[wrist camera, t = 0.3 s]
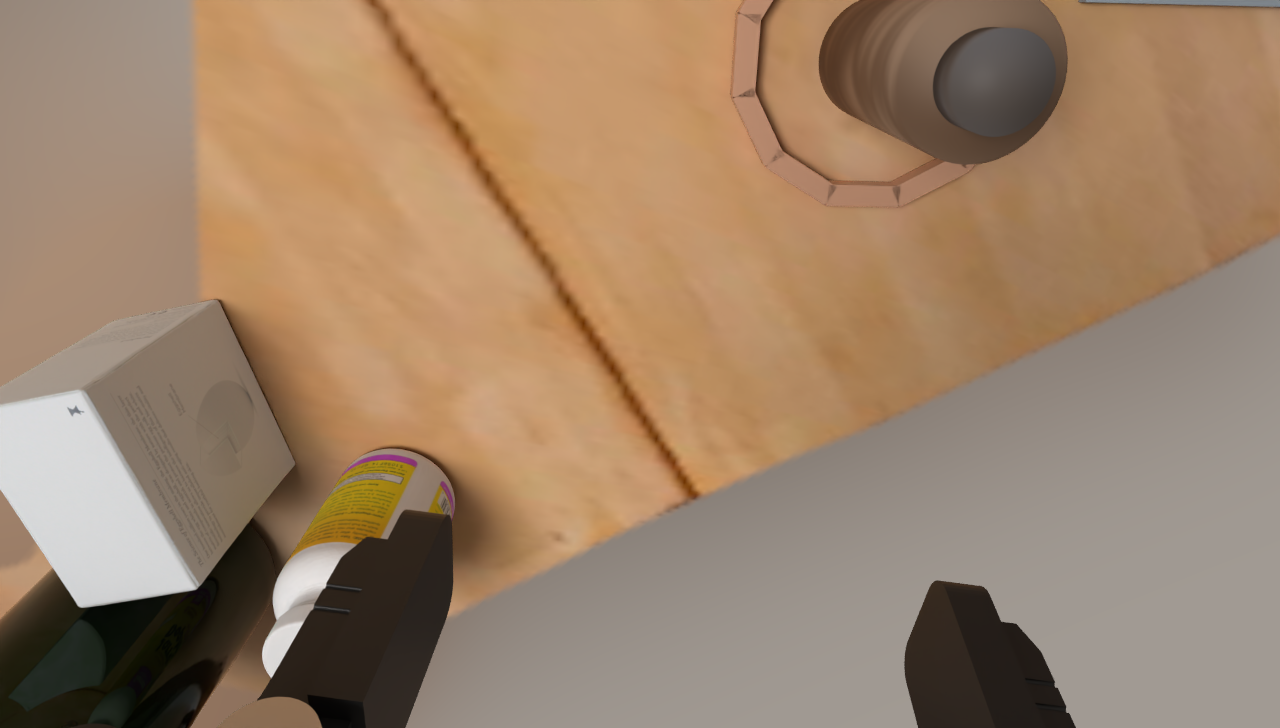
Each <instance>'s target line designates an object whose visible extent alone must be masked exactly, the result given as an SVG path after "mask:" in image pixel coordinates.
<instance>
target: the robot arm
mask: <svg viewBox="0 0 1280 728" xmlns="http://www.w3.org/2000/svg"><path fill="white" fill-rule="evenodd" d="M452 590H453V549H452V520H451V516H450V515H446V514H439V513H431V512H423V511H416V510H408V509H406V510H404V511H403V512H402V513H401V514H400V516H399V518H398V520H397V522H396V524H395V526H394V528H393V530H392V532H391V533H390V535H389V537H388V539H382V538H374V537H366V538H364V539H363V540H362V541H361V542H359V543H358V544H357V545H356V546H355V547H353V548H352V549H351V550H350V551H348V552H347V553H346V554H345V555H344V556H342V557H341V559H340V560H339V562H338V564H337V565H336V567H335V569H334V571H333V572H332V574H331V576H330V578H329V579H328V581H327V583H326V587H325V589H323V590H322V591H321V593H320V595H319V597H318V598H317V600H316V602H315V604H314V608H313V610H311V611H310V612H309V614H308V616H307V617H306V619H305V621H304V623H303V624H302V626H301V628H300V630H299V631H298V633H297V635H296V637H295V638H294V640H293V642H292V643H291V645H290V647H289V649H288V650H287V652H286V654H285V656H284V657H283V659H282V661H281V663H280V664H279V666H278V668H277V669H276V671H275V673H274V675H273V676H272V678H271V680H270V682H269V683H268V685H267V687H266V689H265V690H264V691H263V693H262V694H261V696H260V697H259V698H258V700H257V701H255V702H252V703H250V704H248V705H246V706H243V707H242V708H240V709H238V710H237V711H235V712H233V713H232V714H231V715H230V716H228V717H227V718H226V719H225V720H224V721H223V722H222V723H221V724H220V725H219V726H218V727H217V728H405V727H406V725H407V722H408V719H409V717H410V714H411V711H412V709H413V706H414V703H415V701H416V698H417V695H418V692H419V690H420V687H421V684H422V682H423V679H424V677H425V674H426V671H427V669H428V666H429V663H430V660H431V658H432V655H433V653H434V650H435V647H436V645H437V642H438V639H439V637H440V634H441V631H442V629H443V626H444V623H445V620H446V618H447V614H448V611H449V607H450V602H451V597H452ZM905 678H906V683H907V687H908V690H909V694H910V698H911V702H912V705H913V710H914V713H915V717H916V721H917V725H918V728H1076V727H1075V725H1074V723H1073V720H1072V718H1071V716H1070V714H1069V713H1066V705H1065V703H1064V701H1063V699H1062V696H1061V694H1060V692H1059V690H1058V688H1055V686H1054V683H1055V681H1054V679H1053V677H1052V675H1051V672H1050V671H1049V668H1048V666H1047V664H1046V662H1045V659H1044V657H1043V655H1042V653H1041V651H1040V650H1039V649H1038V648H1037V647H1036V646H1035V644H1034V643H1033V642H1032V641H1031V640H1030V639H1029V638H1028V637H1027V635H1026V634H1025V633H1024V632H1023V631H1022V630H1021V629H1020V628H1019V627H1018V625H1017V624H1014V623H1005V622H1001V620H1000V618H999V616H998V613H997V611H996V609H995V606H994V604H993V601H992V600H991V597H990V595H989V593H988V591H987V590H986V589H985V588H984V587H982V586H975V585H968V584H960V583H952V582H944V581H934V582H933V583H932V584H931V586H930V588H929V590H928V593H927V595H926V598H925V600H924V602H923V605H922V608H921V610H920V612H919V615H918V617H917V620H916V622H915V625H914V627H913V630H912V632H911V635H910V637H909V640H908V642H907V646H906V651H905ZM70 728H116V727H113V726H110V725H105V724H84V725H78V726H74V727H70Z"/></svg>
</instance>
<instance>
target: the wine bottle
mask: <svg viewBox="0 0 1280 728" xmlns="http://www.w3.org/2000/svg"><path fill="white" fill-rule="evenodd" d="M275 584H276V577H275V568H274V562H273V559H272V557H271V554H270V551H269V549H268V547H267V546H266V544H265V542H264V541H263V539H262V538H261V536H260V535H259V534H258V533H257V532H256V531H255V530H254V528H253V527H252V526H251V525H250V524H247V525H246V526H245V528H244V529H243V530H242V532H241V533H240V534H239V535H238V537H237V538H236V539H235V540H234V542H233V543H232V544H231V546H230V547H229V548H228V549H227V551H226V552H225V553H224V555H223V556H222V557H221V559H220V560H219V561H218V563H217V564H216V565H215V567H214V568H213V569H212V571H211V572H210V574H209V575H208V576H207V577H206V579H205V580H204V582H203V583H202V584H201V585H200V586H199V587H198V589H196V590H192V591H186V592H180V593H174V594H168V595H162V596H156V597H150V598H144V599H137V600H131V601H125V602H119V603H113V604H107V605H100V606H93V607H85V608H81V607H79V606H78V605H77V604H76V602H75V600H74V599H73V597H72V596H71V594H70V593H69V591H68V590H67V588H66V587H65V585H64V584H63V582H62V581H61V579H60V578H59V576H58V575H57V573H56V572H55V570H54V569H53V568H52V569H51V570H50V571H49V572H48V573H47V574H46V575H45V576H43V577H42V578H41V579H40V580H39V581H38V582H37V583H36V584H35V585H34V586H33V587H32V588H31V589H30V590H29V591H28V592H27V593H26V594H25V595H24V596H23V597H22V598H21V599H20V600H19V601H18V602H17V603H16V604H15V605H14V606H13V607H12V608H11V609H10V610H9V611H8V612H7V613H6V614H5V615H4V616H3V617H2V618H1V619H0V728H70V727H74V726H78V725H84V724H105V725H110V726H113V727H116V728H190V727H191V726H192V724H193V723H194V721H195V720H196V718H197V717H198V715H199V713H200V712H201V710H202V709H203V708H204V706H205V705H206V703H207V702H208V700H209V699H210V697H211V696H212V694H213V693H214V691H215V690H216V688H217V687H218V685H219V684H220V682H221V681H222V679H223V678H224V676H225V675H226V673H227V671H228V670H229V668H230V667H231V665H232V664H233V662H234V661H235V659H236V658H237V656H238V655H239V653H240V652H241V650H242V648H243V647H244V645H245V644H246V642H247V641H248V639H249V638H250V636H251V635H252V633H253V631H254V630H255V628H256V627H257V625H258V624H259V622H260V620H261V619H262V617H263V615H264V613H265V612H266V610H267V608H268V606H269V604H270V602H271V600H272V597H273V592H274V587H275Z"/></svg>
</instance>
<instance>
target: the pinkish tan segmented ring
mask: <svg viewBox="0 0 1280 728" xmlns="http://www.w3.org/2000/svg"><path fill="white" fill-rule="evenodd" d="M772 1H773V0H743V1H742V3H741V5H740V6H739V8H738V10H737V11H736V12H737V13H739V14H736V16H735V31H734V46H733V61H732V76H731V90H730V95H731V99H732V101H733V103H734V105H735V107H736V109H737V111H738V113H739V115H740V118H741V120H742V122H743V124H744V126H745V128H746V130H747V132H748V134H749V137H750V139H751V141H752V143H753V145H754V147H755V149H756V151H757V153H758V156H759V158H760V160H761V162H762V163H763V165H764V166H765V167H766V168H767V169H769V170H770V171H772V172H774V173H775V174H777V175H778V176H780V177H781V178H783V179H784V180H786V181H788V182H789V183H791V184H792V185H794V186H795V187H797V188H798V189H800V190H802V191H803V192H805V193H806V194H808V195H809V196H811V197H812V198H814V199H816V200H817V201H819V202H820V203H822V204H823V205H826V206H853V207H896V208H898V206H899V207H901V206H903V205H905V204H907V203H909V202H911V201H913V200H915V199H917V198H919V197H921V196H923V195H925V194H927V193H929V192H931V191H932V190H934V189H936V188H938V187H940V186H942V185H944V184H946V183H948V182H950V181H952V180H954V179H956V178H958V177H960V176H962V175H964V174H966V173H968V170H969V171H970V170H971V169H972V168H973V167H974V165H975V164H969V165H964V164H954V163H950V162H946V161H943V160H940V159H938V158H936V159H934V160H932V161H930V162H928V163H926V164H924V165H922V166H920V167H919V168H917V169H915V170H913V171H911V172H909V173H907V174H905V175H903V176H901V177H899V178H897V179H895V180H893V181H891V182H868V181H829V180H827V179H826V178H824V177H823V176H821V175H820V174H818V173H817V172H815V171H814V170H812V169H811V168H809V167H808V166H806V165H804V164H803V163H801V162H800V161H798V160H797V159H795V158H794V157H792V156H791V155H789V154H788V153H786V152H785V151H783V150H782V149H781V147H780V145H779V143H778V141H777V138H776V136H775V134H774V132H773V130H772V128H771V125H770V123H769V121H768V119H767V117H766V115H765V112H764V110H763V108H762V106H761V104H760V102H759V99H758V97H757V95H756V93H755V88H756V75H757V63H758V50H759V37H760V25H761V19H762V18H763V16H764V14H765V13H766V11H767V9H768V8H769V6H770V5H771V3H772Z"/></svg>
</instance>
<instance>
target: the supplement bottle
mask: <svg viewBox="0 0 1280 728" xmlns="http://www.w3.org/2000/svg"><path fill="white" fill-rule="evenodd" d="M406 509H408V510H416V511H423V512H431V513H439V514H446V515H450V516H451V520H452V519H453V515H454V510H455V497H454V492H453V488H452V486H451V483H450V481H449V480H448V478H447V477H446V475H445V474H444V473H443V471H442V470H441V469H440V468H439V467H438V466H437V465H435V464H434V463H433V462H431V461H430V460H428V459H427V458H425V457H423V456H421V455H419V454H417V453H414V452H411V451H407V450H403V449H380V450H376V451H372V452H369V453H367V454H364V455H363V456H361V457H359V458H358V459H356V460H355V461H354V462H353V463H352V464H351V465H350V466H349V467H348V468H347V469H346V470H345V471H344V473H343V474H342V476H341V477H340V479H339V481H338V482H337V484H336V485H335V487H334V488H333V490H332V491H331V493H330V495H329V496H328V498H327V499H326V501H325V502H324V504H323V506H322V507H321V509H320V510H319V512H318V514H317V515H316V517H315V518H314V520H313V521H312V523H311V525H310V526H309V528H308V529H307V531H306V533H305V534H304V536H303V537H302V539H301V541H300V542H299V544H298V545H297V547H296V548H295V550H294V552H293V553H292V555H291V556H290V558H289V559H288V561H287V563H286V564H285V566H284V567H283V569H282V571H281V573H280V575H279V577H278V579H277V581H276V584H275V587H274V592H273V608H274V613H275V617H276V619H277V621H276V623H275V625H274V626H273V628H272V630H271V632H270V633H269V635H268V637H267V639H266V641H265V643H264V646H263V651H262V660H263V664H264V667H265V669H266V671H267V673H268V674H269V676H270V677H271V678H272V676H273V675H274V673H275V671H276V669H277V668H278V666H279V664H280V663H281V661H282V659H283V657H284V656H285V654H286V652H287V650H288V649H289V647H290V645H291V643H292V642H293V640H294V638H295V637H296V635H297V633H298V631H299V630H300V628H301V626H302V624H303V623H304V621H305V619H306V617H307V616H308V614H309V612H310V611H311V610H313V608H314V604H315V602H316V600H317V598H318V597H319V595H320V593H321V591H322V590H323V589H325V587H326V583H327V581H328V579H329V578H330V576H331V574H332V572H333V571H334V569H335V567H336V565H337V564H338V562H339V560H340V559H341V557H342V556H344V555H345V554H346V553H347V552H348V551H350V550H351V549H352V548H353V547H355V546H356V545H357V544H358V543H359V542H361V541H362V540H363V539H364V538H366V537H374V538H382V539H388V537H389V535H390V533H391V532H392V530H393V528H394V526H395V524H396V522H397V520H398V518H399V516H400V514H401V513H402V512H403V511H404V510H406Z"/></svg>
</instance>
